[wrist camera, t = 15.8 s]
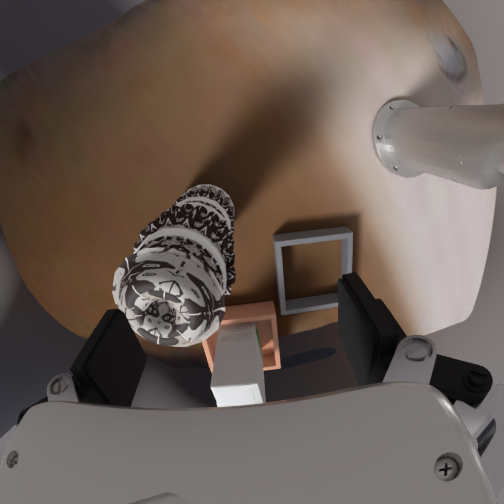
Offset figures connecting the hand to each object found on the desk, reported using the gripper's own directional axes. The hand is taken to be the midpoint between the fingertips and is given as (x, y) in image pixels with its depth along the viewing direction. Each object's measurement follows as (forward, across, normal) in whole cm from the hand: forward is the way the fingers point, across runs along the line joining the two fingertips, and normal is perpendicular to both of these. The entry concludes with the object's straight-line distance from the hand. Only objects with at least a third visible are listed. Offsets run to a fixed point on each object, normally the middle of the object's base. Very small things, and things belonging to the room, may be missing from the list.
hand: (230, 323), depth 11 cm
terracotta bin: (+30, +5, +25) cm, 39 cm away
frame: (+30, -9, +14) cm, 34 cm away
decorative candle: (+30, +6, +2) cm, 30 cm away
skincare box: (+29, +5, +25) cm, 39 cm away
